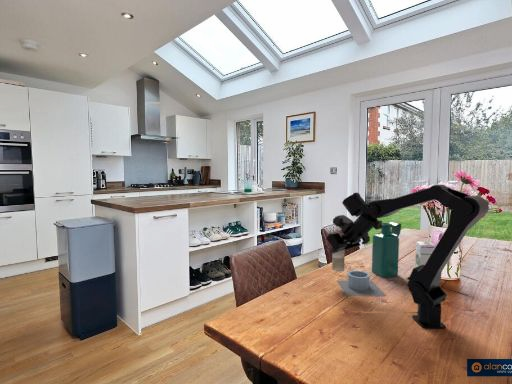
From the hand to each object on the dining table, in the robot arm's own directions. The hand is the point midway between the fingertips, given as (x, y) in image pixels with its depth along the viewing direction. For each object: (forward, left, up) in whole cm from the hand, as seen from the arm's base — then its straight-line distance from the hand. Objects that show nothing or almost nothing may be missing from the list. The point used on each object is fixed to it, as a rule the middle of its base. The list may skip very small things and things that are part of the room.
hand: (335, 251), depth 111 cm
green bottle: (+13, -25, -14) cm, 31 cm away
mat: (-3, -9, -13) cm, 16 cm away
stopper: (-1, -1, -7) cm, 7 cm away
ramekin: (-1, -9, -13) cm, 16 cm away
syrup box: (+9, -39, -14) cm, 42 cm away
